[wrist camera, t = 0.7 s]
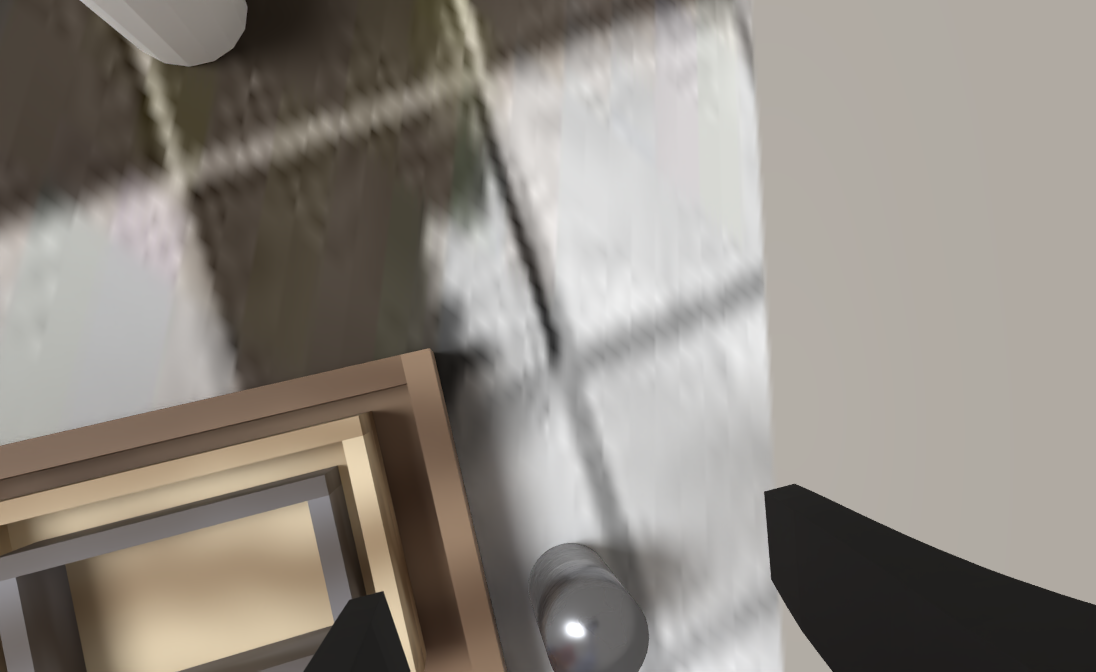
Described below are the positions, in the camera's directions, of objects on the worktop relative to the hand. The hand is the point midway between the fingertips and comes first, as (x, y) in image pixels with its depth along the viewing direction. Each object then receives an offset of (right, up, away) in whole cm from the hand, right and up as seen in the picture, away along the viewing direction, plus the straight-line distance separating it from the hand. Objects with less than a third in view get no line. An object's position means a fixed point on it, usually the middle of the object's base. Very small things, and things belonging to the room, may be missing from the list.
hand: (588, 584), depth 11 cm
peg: (0, -8, +17) cm, 19 cm away
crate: (-15, -6, +14) cm, 21 cm away
